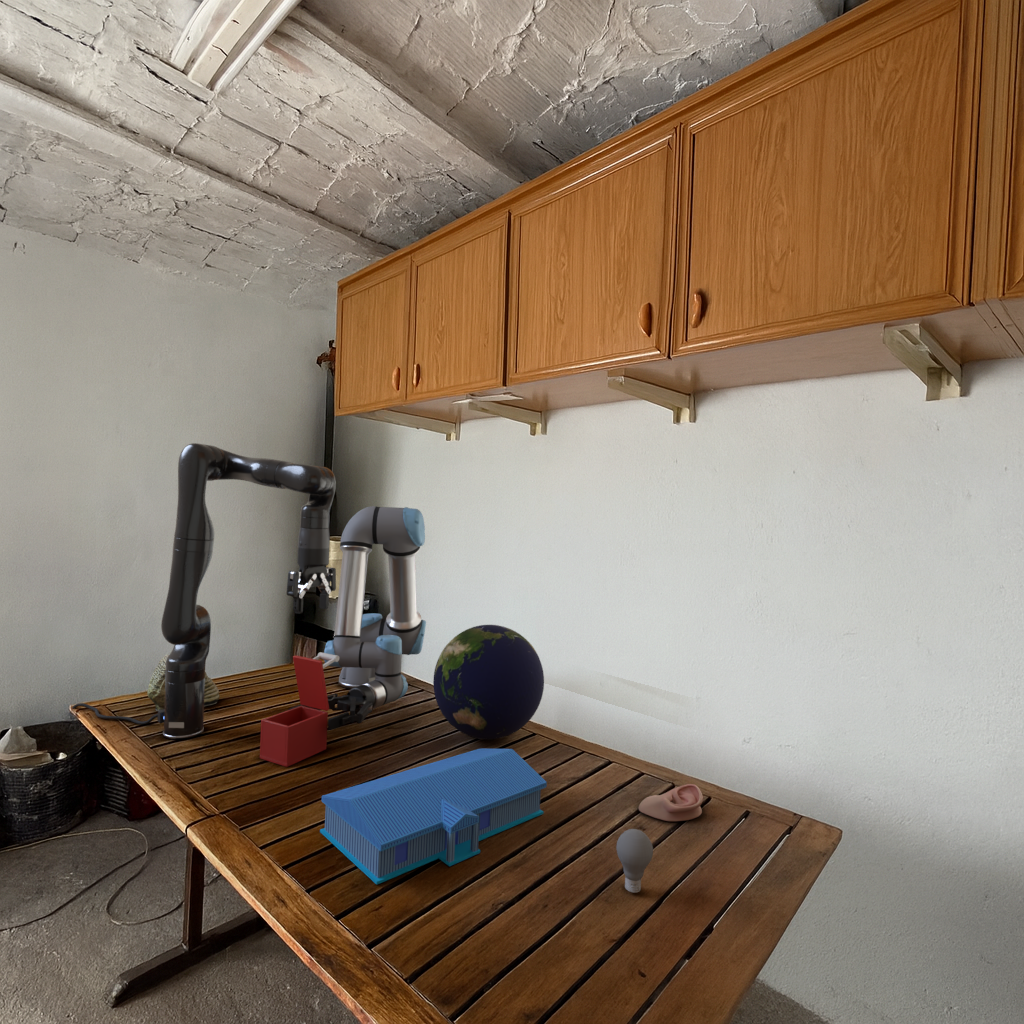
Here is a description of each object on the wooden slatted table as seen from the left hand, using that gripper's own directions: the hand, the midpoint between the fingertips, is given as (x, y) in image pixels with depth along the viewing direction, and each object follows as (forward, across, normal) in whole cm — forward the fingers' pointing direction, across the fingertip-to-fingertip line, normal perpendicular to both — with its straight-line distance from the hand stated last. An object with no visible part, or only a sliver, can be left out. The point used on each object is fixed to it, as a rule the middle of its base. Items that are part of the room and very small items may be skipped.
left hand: (311, 610), depth 158 cm
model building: (+35, -14, -49) cm, 62 cm away
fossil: (+35, +3, +52) cm, 62 cm away
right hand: (+28, +1, 0) cm, 28 cm away
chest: (+35, -4, 0) cm, 35 cm away
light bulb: (+35, -14, -88) cm, 96 cm away
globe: (+35, +32, -34) cm, 58 cm away
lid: (+18, 0, 0) cm, 18 cm away
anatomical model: (+35, +18, -87) cm, 95 cm away
